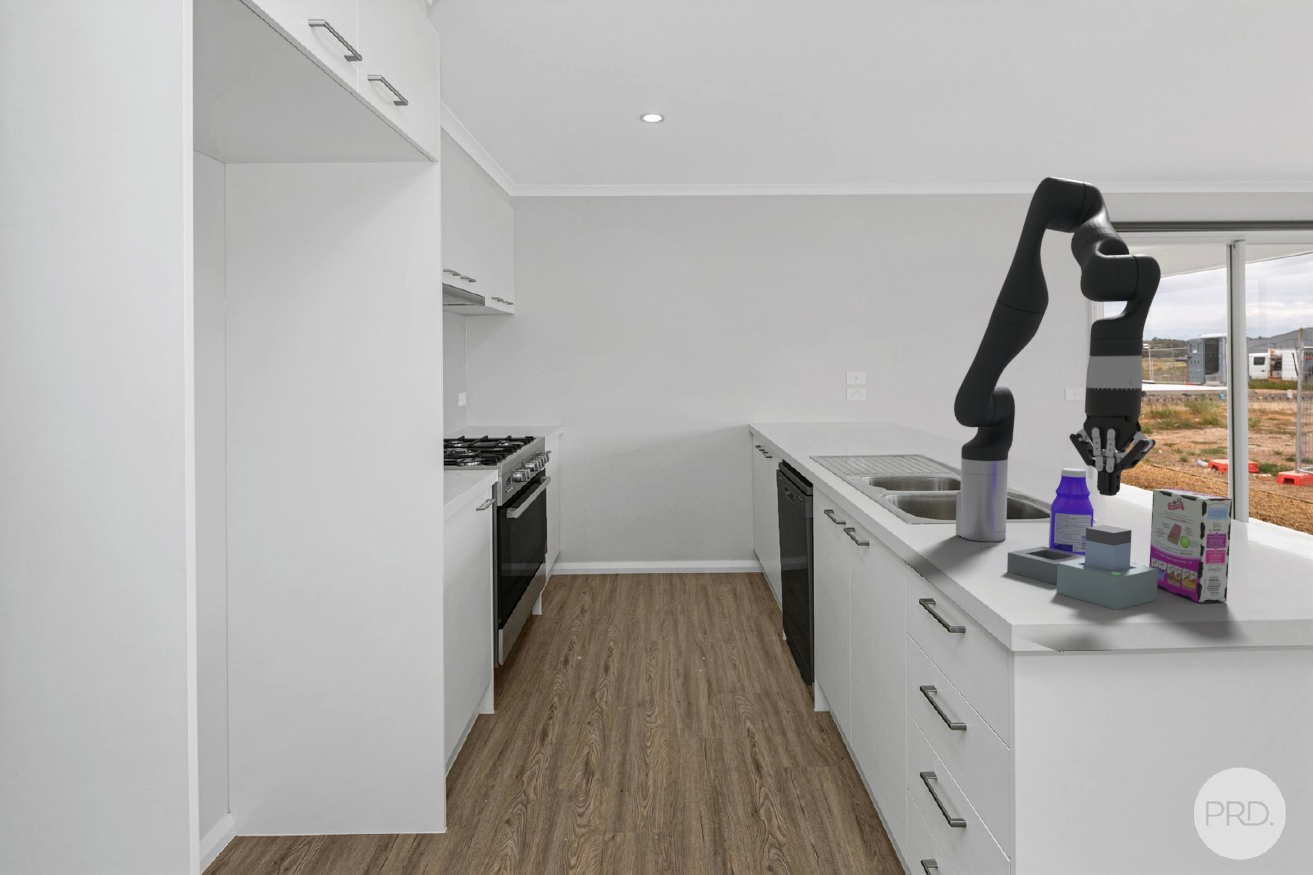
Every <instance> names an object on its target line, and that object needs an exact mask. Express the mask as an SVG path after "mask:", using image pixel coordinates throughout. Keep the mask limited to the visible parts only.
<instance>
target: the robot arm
mask: <svg viewBox="0 0 1313 875" xmlns="http://www.w3.org/2000/svg"><path fill="white" fill-rule="evenodd" d="M1105 202H1106V201H1105V199H1104V196H1103V194H1102V192H1101V190H1100V189H1099V188H1098V187H1097V186H1096V185H1094V184H1092V183H1089V182H1085V181H1079V180H1075V179H1069V178H1062V177H1056V176H1047V177H1045V178H1044V179H1042V180H1041V182H1040V183H1038V186H1037V187H1036V189H1035V191H1034V194H1033V196H1032V197H1031V200H1030V202H1029V207H1028V209H1027V213H1026V217H1025V219H1024V222H1023V223H1024V224H1023V226H1022V230H1021V233H1020V237H1019V240H1018V242H1017V246H1016V249H1015V252H1014V256H1013V259H1012V262H1011V264H1010V267H1009V269H1008V272H1007V274H1006V276H1005V278H1004V282H1003V284H1002V286H1001V289H1000V291H999V294H998V296H997V298H996V301H995V304H994V307H993V309H992V312H991V315H990V318H989V321H988V324H987V326H986V329H985V331H984V334H983V337H982V338H981V341H980V344H979V345H978V349H977V352H976V354H975V356H974V358H973V360H972V362H971V365H970V366H969V368H968V370H967V372H966V374H965V377H963V380H962V382H961V385H960V387H959V388H958V391H957V393H956V395H955V399H954V403H953V412H954V416H955V419H956V421H957V422H958V423H959V424H960V425H961V426H963V427H965V428H977V431H976V434H975V436H974V437H973V438H972V439H970V440H969V441H967V442H965V443H964V444H963V445H962V447H961V454H960V458H961V459H960V460H961V461H960V462H961V463H960V464H961V465H960V490H959V491H957V492H956V502H955V503H956V506H955V507H956V508H955V510H956V511H955V535H956V534H957V536H959V537H960V536H961V538H962V539H965V540H971V541H977V542H1000V541H1001V542H1002V541H1005V540H1006V537H1007V536H1006V534H1007V508H1008V506H1007V503H1008V502H1007V501H1008V477H1009V476H1008V474H1009V472H1008V471H1009V470H1008V468H1009V464H1008V462H1009V460H1008V459H1009V451H1010V450H1011V447H1012V446H1013V441H1014V440H1013V439H1014V429H1015V418H1016V404H1015V403H1016V401H1015V398H1014V394H1013V392H1012V391H1011V389H1010V388H1009V387H1008V386H1007V385H1005V384H1001V383H998V382H999V379H1000V378H1001V375H1002V374H1003V372H1004V370H1006V368H1007V367H1008V365H1010V363H1011V362H1012V361H1013V360H1014V359H1015V358H1016V357H1017V356H1018V355H1019V354H1020V353H1021V352H1022V350H1024V349H1025V347H1027V346H1028V344H1029V343H1030V342H1031V341H1032V340H1033V339H1034V337H1035V336H1036V334H1037V332H1038V330H1039V329H1040V326H1041V323H1042V321H1043V318H1044V316H1045V314H1046V311H1047V309H1048V306H1049V298H1050V297H1049V290H1048V285H1047V284H1048V283H1047V280H1046V276H1045V274H1044V270H1043V265H1042V257H1041V255H1042V254H1041V250H1042V245H1043V244H1042V243H1043V238H1044V235H1045V232H1046V230H1049V231H1055V232H1060V233H1067V234H1073V235H1072V237H1071V241H1070V242H1071V243H1070V250H1071V253H1072V256H1073V258H1074V259H1075V261H1076V262H1077V264H1078V265H1079V267H1080V271H1081V275H1080V279H1079V280H1080V282H1079V284H1080V285H1079V286H1080V291H1081V293H1082V295H1083V297H1084V298H1086V299H1087V300H1089V301H1092V302H1095V303H1096V302H1098V303H1108V302H1109V303H1112V302H1113V303H1117V302H1126V305H1125V307H1124V309H1123V310H1122V311H1121V312H1120V314H1117V315H1113V316H1107V317H1103V318H1099V319H1096V320H1095V321H1093V323H1092V324H1091V327H1090V336H1089V337H1090V338H1089V358H1088V364H1087V369H1086V380H1085V397H1084V398H1085V399H1084V401H1085V404H1084V413H1085V415H1086V418H1085V420H1084V422H1083V426H1082V427H1083V428H1081V429H1080V430H1079V431H1077V432H1075V433H1071V434H1070V435H1069V440H1070V442H1071V443H1072V445H1073V447H1074V448H1075V449H1076V451H1077V452H1078V454H1079V455H1080V456H1079V457H1081V459H1082V460H1083V462H1084V463H1085V465H1086V466H1088V467H1093V468H1095V469H1096V471H1097V480H1096V481H1097V482H1096V488H1097V491H1099V492H1098V493H1099V494H1100V496H1101V495H1102V496H1106V497H1107V496H1109V497H1112V496H1113V497H1114V496H1116V495H1118V493H1119V492H1120V490H1121V476H1122V472H1124V471H1127V470H1132V469H1135V467H1137V465H1138V464H1139V462H1140V461H1142V460H1143V459H1144V458H1145V456H1146V455H1148V453H1149V452H1150V451H1151V450H1152V449H1153V448H1154V447H1155V446H1156V443H1157V442H1156V440H1155V439H1154V438H1148V437H1147V436H1146V435H1144V433H1142V425H1141V424H1140V421H1139V419H1140V416H1141V412H1142V411H1141V410H1142V396H1143V395H1142V394H1143V376H1144V370H1143V356H1142V355H1143V341H1144V339H1143V338H1144V331H1145V324H1146V322H1147V318H1148V315H1149V312H1150V309H1151V306H1152V303H1153V301H1154V298H1155V296H1156V293H1157V291H1158V288H1159V286H1160V282H1161V277H1162V276H1161V275H1162V271H1161V267H1160V264H1159V262H1158V261H1157V260H1156V258H1154V257H1153V256H1152V255H1149V254H1130V249H1129V247H1128V245H1127V244H1126V242H1125V241H1124V239H1122V237H1121V236H1120V235H1119V233H1118V232H1117V231H1116V229H1115V228H1114V226H1113V225H1112V222H1111V220H1110V216H1109V213H1108V208H1107V205H1106V203H1105ZM1130 446H1132V447H1131V449H1130V450H1129V451H1128V448H1129V447H1130Z"/></svg>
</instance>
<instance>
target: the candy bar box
mask: <svg viewBox="0 0 1313 875" xmlns="http://www.w3.org/2000/svg"><path fill="white" fill-rule="evenodd" d="M1232 510H1233V499H1232V498H1229V497H1222V496H1218V495H1214V494H1208V493H1203V492H1198V491H1191V490H1186V489H1182V488H1181V489H1179V488H1156V489H1152V506H1151V524H1150V525H1151V527H1150V529H1151V530H1150V543H1149V544H1150V546H1149V564H1148V567H1151V568H1156V569H1158V580H1157V589H1161V590H1163V591H1166V592H1168V593H1171V594H1174V595H1177V596H1179V597H1183V598H1186V599H1188V600H1191V601H1193V602H1196V603H1198V604H1199V603H1200V604H1201V603H1203V604H1204V603H1205V604H1206V603H1207V604H1208V603H1212V604H1213V603H1226V602H1227V601H1228V600H1227V599H1228V598H1227V597H1228V580H1229V562H1230V544H1231V531H1232V530H1231V528H1232V526H1231V525H1232V513H1233V512H1232Z"/></svg>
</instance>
